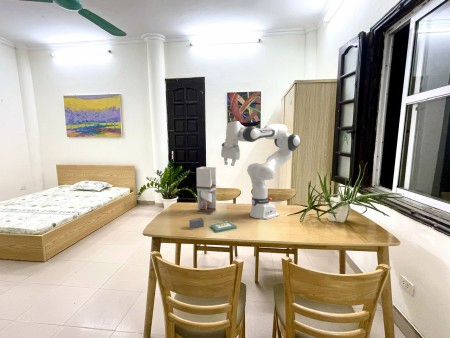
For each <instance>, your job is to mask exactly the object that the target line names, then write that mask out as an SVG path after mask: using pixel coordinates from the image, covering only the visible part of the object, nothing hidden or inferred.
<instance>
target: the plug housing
mask: <svg viewBox="0 0 450 338" xmlns="http://www.w3.org/2000/svg"><path fill="white" fill-rule="evenodd" d="M188 222H189V224H188V225H189V228H190V229H191V230H196V229H200V228H205V227H204V222H205V221H204V219H203V218H202V217H197V218H191V219H189V221H188Z"/></svg>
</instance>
